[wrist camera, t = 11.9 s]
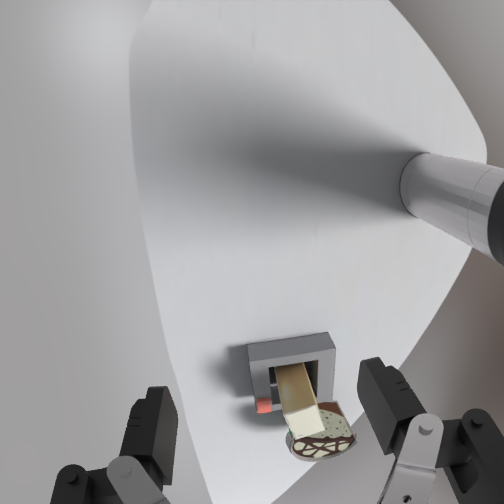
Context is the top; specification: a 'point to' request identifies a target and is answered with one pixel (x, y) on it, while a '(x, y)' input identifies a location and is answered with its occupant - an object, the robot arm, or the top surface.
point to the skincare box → (298, 400)
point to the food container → (325, 436)
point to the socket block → (292, 352)
